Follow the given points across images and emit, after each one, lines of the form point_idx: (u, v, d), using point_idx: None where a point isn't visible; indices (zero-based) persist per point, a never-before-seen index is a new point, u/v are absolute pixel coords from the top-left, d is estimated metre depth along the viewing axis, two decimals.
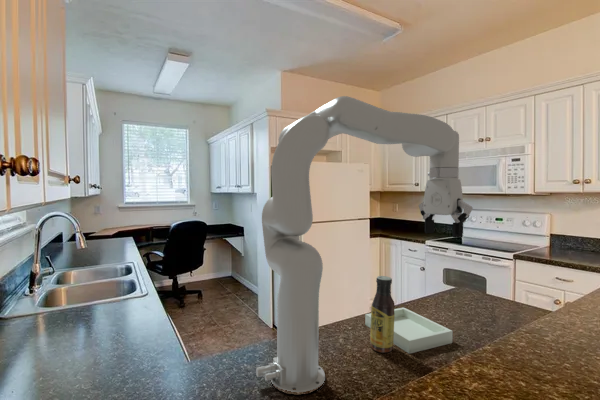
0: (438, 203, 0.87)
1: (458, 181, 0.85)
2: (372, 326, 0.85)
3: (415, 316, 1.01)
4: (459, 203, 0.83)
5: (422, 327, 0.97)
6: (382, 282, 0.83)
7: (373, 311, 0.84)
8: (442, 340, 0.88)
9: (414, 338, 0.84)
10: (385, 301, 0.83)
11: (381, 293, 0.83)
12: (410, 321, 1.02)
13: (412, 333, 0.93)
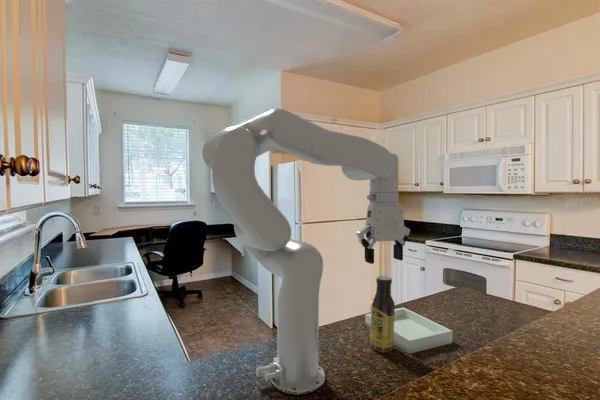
0: (392, 229, 0.83)
1: None
2: (372, 326, 0.85)
3: (415, 316, 1.01)
4: None
5: (422, 327, 0.97)
6: (382, 282, 0.83)
7: (373, 311, 0.84)
8: (442, 340, 0.88)
9: (414, 338, 0.84)
10: (385, 301, 0.83)
11: (381, 293, 0.84)
12: (410, 321, 1.02)
13: (412, 333, 0.93)
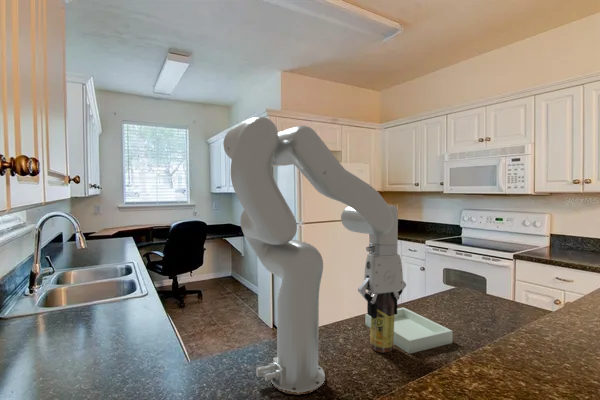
0: (391, 281, 0.83)
1: None
2: (372, 326, 0.85)
3: (415, 316, 1.01)
4: None
5: (422, 327, 0.97)
6: None
7: None
8: (442, 340, 0.88)
9: (414, 338, 0.84)
10: (385, 301, 0.83)
11: None
12: (410, 321, 1.02)
13: (412, 333, 0.93)
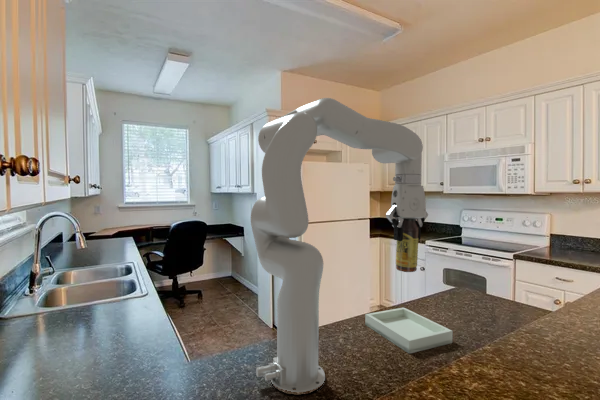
0: (415, 207, 0.93)
1: None
2: (398, 249, 0.94)
3: (415, 316, 1.01)
4: None
5: (422, 327, 0.97)
6: None
7: None
8: (442, 340, 0.88)
9: (414, 338, 0.84)
10: (410, 225, 0.92)
11: (406, 219, 0.93)
12: (410, 321, 1.02)
13: (412, 333, 0.93)
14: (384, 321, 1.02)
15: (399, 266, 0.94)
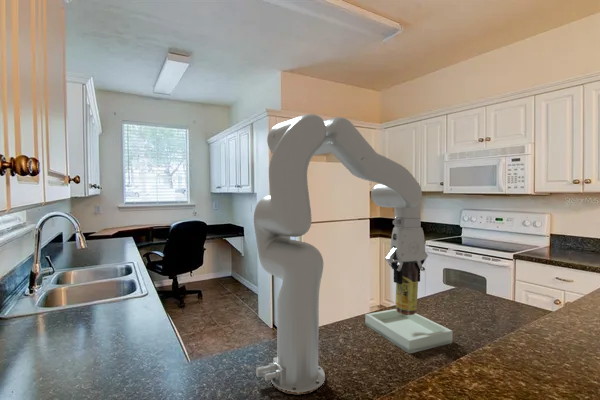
0: (415, 250, 0.93)
1: None
2: (398, 292, 0.94)
3: (415, 316, 1.01)
4: None
5: (422, 327, 0.97)
6: None
7: None
8: (442, 340, 0.88)
9: (414, 338, 0.84)
10: (410, 269, 0.93)
11: (406, 262, 0.93)
12: (410, 321, 1.02)
13: (412, 333, 0.93)
14: (384, 321, 1.02)
15: (399, 309, 0.94)
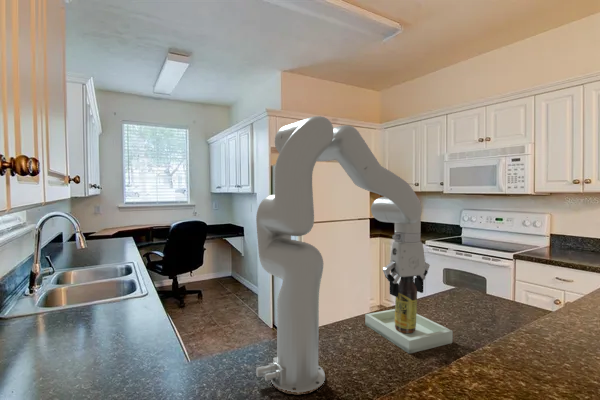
0: (415, 265, 0.93)
1: None
2: (397, 310, 0.94)
3: None
4: None
5: (422, 327, 0.97)
6: None
7: (398, 296, 0.94)
8: (442, 340, 0.88)
9: (414, 338, 0.84)
10: (409, 287, 0.92)
11: (405, 280, 0.93)
12: None
13: (412, 333, 0.93)
14: (384, 321, 1.02)
15: (398, 327, 0.94)
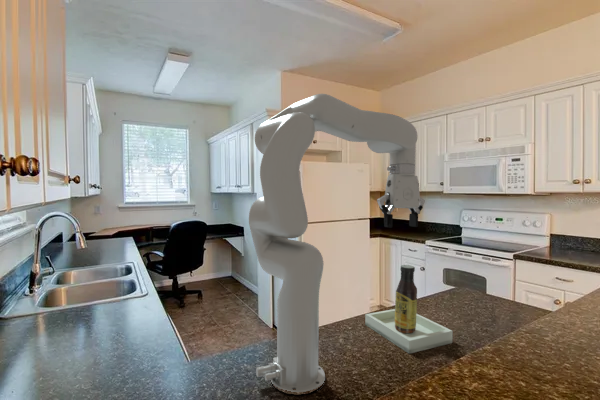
0: (409, 197, 0.93)
1: None
2: (397, 310, 0.94)
3: None
4: None
5: (422, 327, 0.97)
6: (406, 270, 0.93)
7: (398, 296, 0.94)
8: (442, 340, 0.88)
9: (414, 338, 0.84)
10: (409, 287, 0.92)
11: (405, 280, 0.93)
12: None
13: (412, 333, 0.93)
14: (384, 321, 1.02)
15: (398, 327, 0.94)
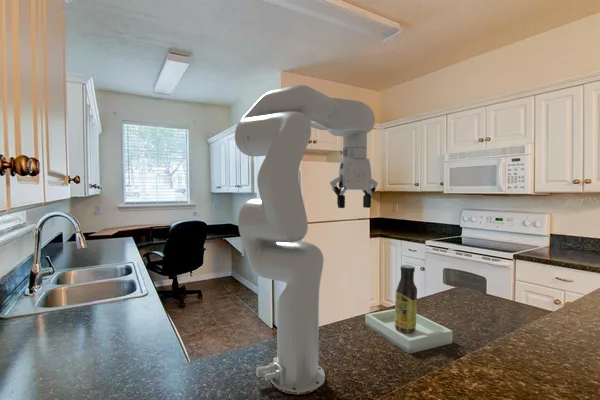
0: (361, 179, 0.98)
1: None
2: (397, 310, 0.94)
3: None
4: None
5: (422, 327, 0.97)
6: (406, 270, 0.93)
7: (398, 296, 0.94)
8: (442, 340, 0.88)
9: (414, 338, 0.84)
10: (409, 287, 0.92)
11: (405, 280, 0.93)
12: None
13: (412, 333, 0.93)
14: (384, 321, 1.02)
15: (398, 327, 0.94)
